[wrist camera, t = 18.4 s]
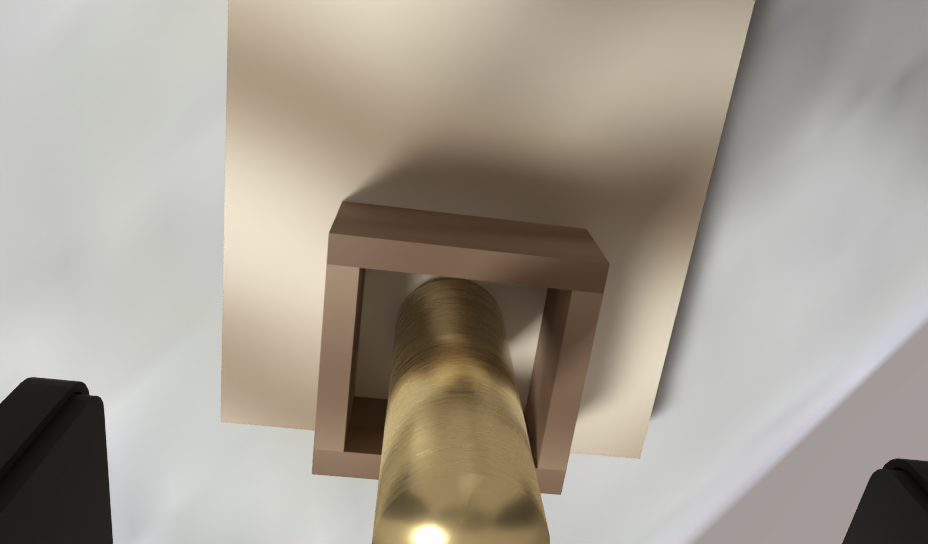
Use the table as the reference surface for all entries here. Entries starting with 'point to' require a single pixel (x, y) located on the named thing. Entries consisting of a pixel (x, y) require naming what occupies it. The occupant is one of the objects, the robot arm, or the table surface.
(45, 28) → the table surface
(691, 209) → the board
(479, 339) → the brass pin
